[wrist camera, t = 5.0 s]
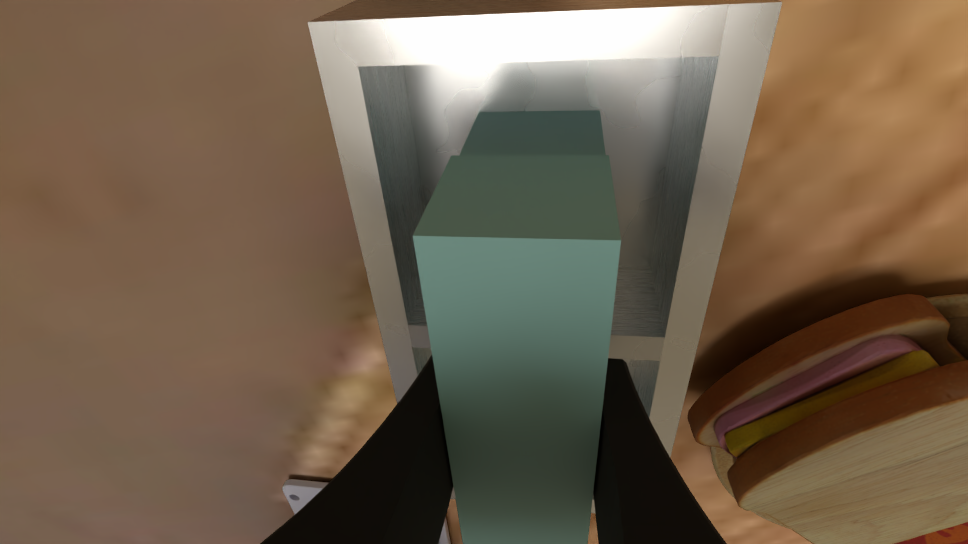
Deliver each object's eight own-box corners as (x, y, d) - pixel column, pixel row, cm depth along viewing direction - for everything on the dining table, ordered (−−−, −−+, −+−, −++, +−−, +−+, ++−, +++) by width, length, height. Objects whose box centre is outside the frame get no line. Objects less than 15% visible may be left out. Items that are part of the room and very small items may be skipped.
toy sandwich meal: (787, 539, 23) (828, 664, 19) (626, 358, 18) (640, 479, 14) (1165, 458, 17) (1332, 614, 14) (1083, 159, 12) (1310, 273, 9)
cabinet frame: (643, 432, 20) (654, 519, 17) (439, 416, 21) (418, 495, 18) (728, -24, 11) (782, 1, 8) (369, -5, 12) (307, 22, 9)
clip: (580, 391, 18) (582, 586, 13) (496, 386, 19) (467, 572, 14) (600, 97, 12) (621, 241, 7) (477, 100, 13) (412, 235, 8)
